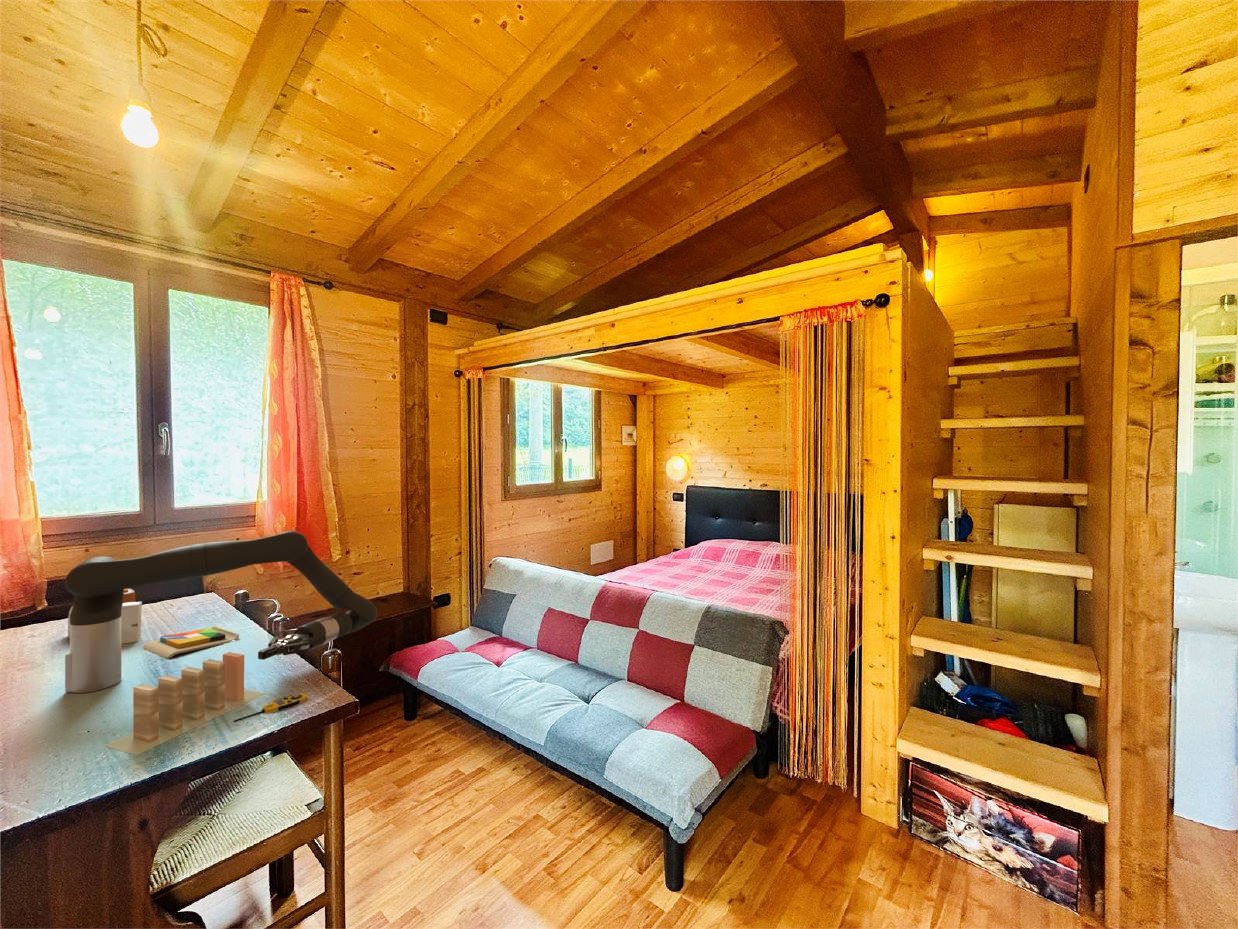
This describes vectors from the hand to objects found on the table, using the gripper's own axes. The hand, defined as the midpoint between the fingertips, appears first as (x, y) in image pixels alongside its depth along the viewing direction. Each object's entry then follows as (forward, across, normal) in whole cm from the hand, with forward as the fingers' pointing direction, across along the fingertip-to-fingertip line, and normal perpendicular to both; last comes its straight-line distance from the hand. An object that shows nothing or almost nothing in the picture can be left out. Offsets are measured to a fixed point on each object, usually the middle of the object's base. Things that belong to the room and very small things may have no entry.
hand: (260, 655), depth 129 cm
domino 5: (+7, 0, +8) cm, 10 cm away
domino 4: (+12, 0, +8) cm, 14 cm away
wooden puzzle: (-16, -48, +9) cm, 52 cm away
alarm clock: (-13, -86, +9) cm, 88 cm away
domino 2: (+20, 0, +8) cm, 22 cm away
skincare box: (-10, -69, +9) cm, 71 cm away
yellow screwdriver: (+8, +14, +9) cm, 18 cm away
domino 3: (+16, 0, +8) cm, 18 cm away
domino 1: (+25, 0, +8) cm, 26 cm away
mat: (+16, 0, +8) cm, 18 cm away
